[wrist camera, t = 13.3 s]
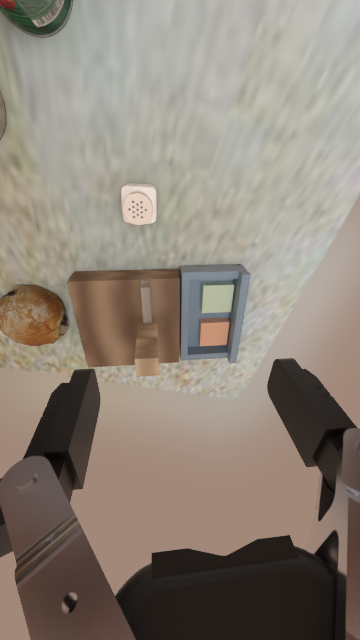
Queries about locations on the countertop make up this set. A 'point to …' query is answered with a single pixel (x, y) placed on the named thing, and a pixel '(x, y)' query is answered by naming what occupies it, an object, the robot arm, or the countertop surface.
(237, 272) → the tray
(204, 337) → the terracotta tile
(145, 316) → the long tan wooden block
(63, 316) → the bread roll
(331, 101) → the countertop surface
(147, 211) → the pepper shaker
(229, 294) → the sage tile
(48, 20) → the canned tomato
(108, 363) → the board
